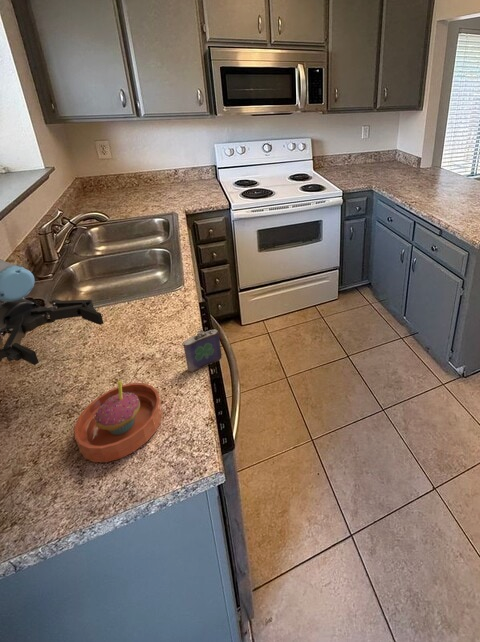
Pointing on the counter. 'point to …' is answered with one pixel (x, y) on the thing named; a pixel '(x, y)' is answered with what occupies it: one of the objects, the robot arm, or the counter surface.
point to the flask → (202, 349)
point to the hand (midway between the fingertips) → (70, 337)
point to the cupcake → (118, 412)
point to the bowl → (113, 447)
